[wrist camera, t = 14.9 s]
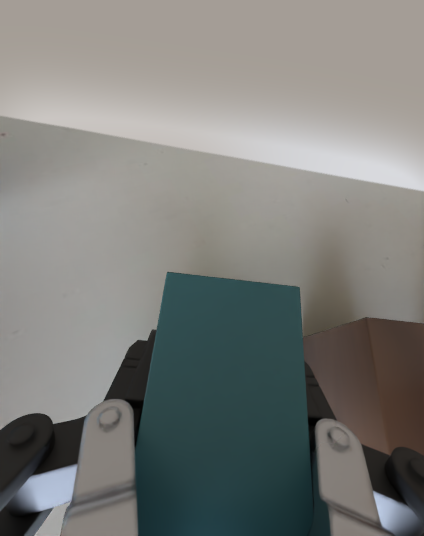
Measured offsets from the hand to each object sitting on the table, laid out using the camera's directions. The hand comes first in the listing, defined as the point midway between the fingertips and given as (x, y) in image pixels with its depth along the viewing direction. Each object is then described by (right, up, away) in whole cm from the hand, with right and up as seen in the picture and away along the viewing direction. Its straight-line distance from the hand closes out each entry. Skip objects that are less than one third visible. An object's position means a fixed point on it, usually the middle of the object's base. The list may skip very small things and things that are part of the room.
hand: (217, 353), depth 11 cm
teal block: (-1, -4, +5) cm, 6 cm away
